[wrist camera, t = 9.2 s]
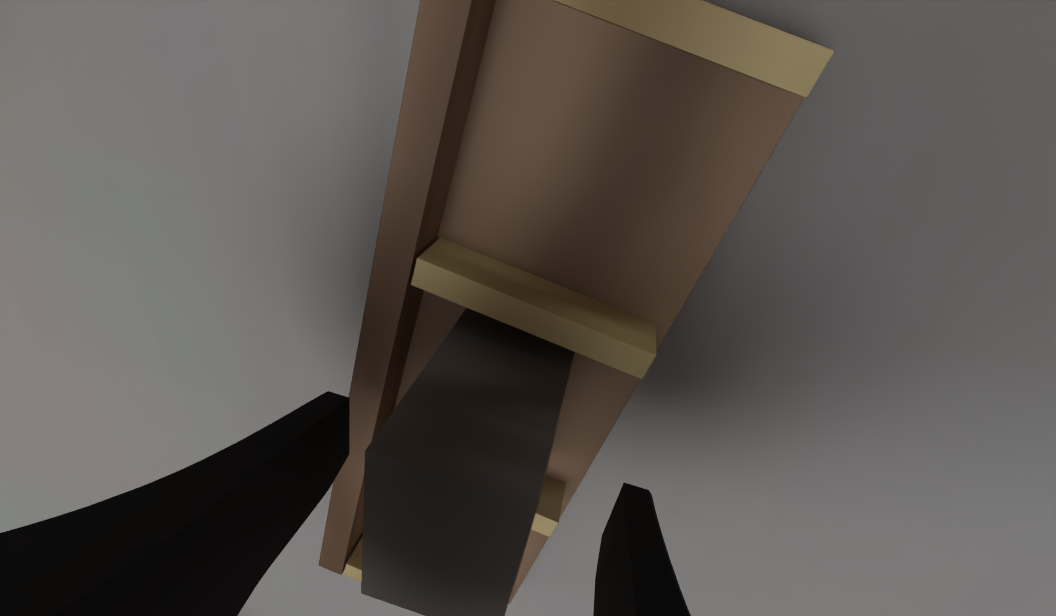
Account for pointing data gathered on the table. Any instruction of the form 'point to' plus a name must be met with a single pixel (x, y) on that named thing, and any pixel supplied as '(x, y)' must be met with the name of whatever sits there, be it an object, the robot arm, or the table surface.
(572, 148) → the rack
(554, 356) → the black box
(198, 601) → the robot arm
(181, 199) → the table surface
